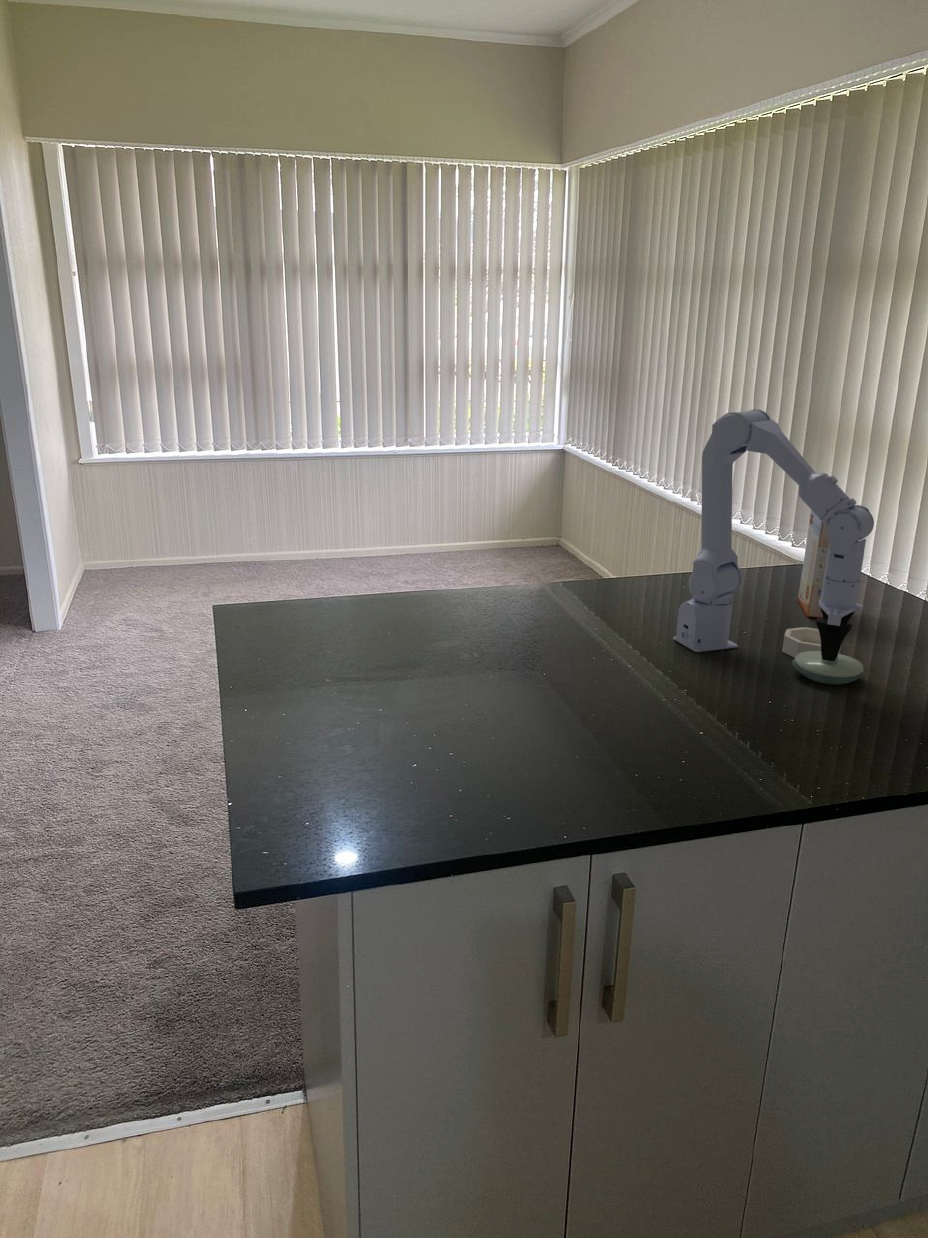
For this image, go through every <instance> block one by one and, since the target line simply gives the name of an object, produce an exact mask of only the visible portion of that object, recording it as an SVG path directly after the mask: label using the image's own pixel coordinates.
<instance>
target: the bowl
mask: <svg viewBox="0 0 928 1238" xmlns="http://www.w3.org/2000/svg"><path fill="white" fill-rule="evenodd" d="M841 649H842V646H841V647H840V650H839V654H841ZM781 651H782V653H784V654H787V655H789V656H790V657H792V658H793V659H795V657H796V655H797V654H799V653H802V652H807V651H821V639H820V633H819V630H818V628H812V627H802V626H801V627H793V628H786V630H785V632H784V636H783V642H782V650H781Z"/></svg>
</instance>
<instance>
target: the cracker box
mask: <svg viewBox="0 0 928 1238" xmlns="http://www.w3.org/2000/svg"><path fill="white" fill-rule="evenodd" d="M809 517H810V518H809V523H808V524H809V525H808V529H807V536H806V537H807V538H806V543H805V550H804V556H803V562H802V563H803V565H802V569H801V574H800V575H801V576H800V583H799V589H798V595H797V600H798V601H799V603H800V605H801V608H802V610H803V611H804V613H805V616H806V617H808V618H816V619H817V618H822V619H823V615H822V612H821V609H820V606H819V600H820V599H821V592H822V586H823V579H824V573H825V566H826V560H827V553H828V548H829V538H828V537H827V535H826V531H825V525H826V524H824V523H823V522H822V521H821V520H820V519H819V518H818V517H817V515H816V514H815V513H814V512H813V511H812V510H811V509H810V515H809Z"/></svg>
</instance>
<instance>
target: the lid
mask: <svg viewBox="0 0 928 1238" xmlns="http://www.w3.org/2000/svg"><path fill="white" fill-rule="evenodd" d="M794 659H795V664H796V665H797V666H798V667H799V668H800V669H802V670H804V671H806V672H809V673H812V674H815V675H819V676H824V677H831V678H853V677H857V676H859V675H861V674H862V672H863V670H864V664H862V662H860V661H859V660H858V659H856V658H853V657H851V656H849V655H845V654H842V653H840V654H839V653H838V655H837V658H836V660H835V661H828V660H822V656H821V651H807V652H802V653H799V654H797V655H796V657H795V658H794Z"/></svg>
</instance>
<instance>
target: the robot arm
mask: <svg viewBox="0 0 928 1238" xmlns="http://www.w3.org/2000/svg"><path fill="white" fill-rule="evenodd" d="M747 451H748V452H753V453H758V454H759V453H760V454H765V455H767V456H768V457H769V458H770V459H771V460H772V461H773V462H774V463H775V464H776V465H778V467H779V468H781V469H782V471H783V472H784V473H786V475H788V476H789V478H790V479H792V480H793V481H794V482H795V483H796V484H797V485H798V497H799V498H800V499H801V501H803V502H804V503H805V505H806V506H807V507H808V508H809V509H810V511H811V510H812V511H813V512H814V513H815V514H816V515H817V517H818V518H819V519H820V520H821V521H822V522H823V523H824V524H826V525H825V531H826V535H827V537H828V538H829V548H828V553H827V560H826V566H825V573H824V579H823V586H822V592H821V599H820V600H819V606H820V609H821V612H822V615H823V618H816V620H815V621H816V622H815V624H816V627H817V628H816V629H818V630H819V633H820V639H821V656H822V660H828V661H835V660H836V658H837V655H838V653H839V650H840V647H841V648H842V644H843V642H844V640H845V638H846V636H847V635H848V633H849V632H850V631H851V630H852V628H853V624H850V623H849V621H850V619H851V618H852V616H853V615H854V614H855V611H856V612H861V611H863V608H864V605H863V604H862V603H857V600H858V592H859V588H860V580H861V575H862V569H863V563H864V558H865V557H864V556H865V549H866V542H867V539H866V538H868V536H869V535H870V534H872V532H873V529H874V527H875V520H874V516H873V515H872V513H871V512H870V509H869V508H868V507H866V506H863V505H860V504H857V500H855V498H850V497H849V496H848V495H847V494H846V493H845V492H844V491H843V490H842V488H841V487H840V486H839V485H838V484H837V483H838V482H839V479H838V478H836V476H835V475H830V476H829V475H828V474H827V473H825V472H817V471H815V470H814V469H813V468H812V467H811V465H810V464H809V463H808V461H807V460H806V459H805V458H804V456H802V454H801V453H800V452H799V451H798V449H797V448H796V447H795V445H794V444H792V442H791V441H790V440H789V438H788V437H787V436H786V434H784V432H783V431H782V428H781V426H779V424H778V422H776V421H775V420H774V419H772V418H771V416H770V415H769V414H768V413H767V412H766V411H765V410H762V409H758V408H756V409H755V408H754V409H750V410H744V411H737V412H736V411H731V412H727V413H725V414H723V415H722V416H721V417H719V418H718V419H717V420H716V421H715V422H713V424H712V425H711V434H710V436H709V438H708V440H707V442H706V444H705V446H704V448H703V450H702V453H701V454H702V455H701V535H700V536H701V538H700V539H701V541H700V542H701V546H700V547H701V549H700V550H699V552H698V554H697V555H696V556H695V559H693V562H692V563H693V564H692V572H691V574H690V576H689V578H688V589H689V592H690V593H691V595H692V598H691V599H690V600H687V601H683V602H682V603H681V604H680V606H679V608H678V612H677V619H676V621H677V622H676V623H677V624H676V629H675V630H676V633H675V636H673V638H672V639H673V640H674V641H676V642H678V643H679V644H681V645H682V646H684V647H686V648H688V649H689V650H691V651H693V652H695V653H702V652H709V651H710V652H711V651H717V650H718V651H720V650H726V649H736V648H738V644H737V643H735V642H733V641H731V640H729V638H730V628H731V620H732V611H733V603H734V597H735V596H734V594H735V592H736V591H737V590H738V589H739V588H740V586H741V584H742V581H743V575H742V571H741V570H740V567H739V563H738V555H737V553H736V552H735V551H734V549H733V547H732V545H733V544H732V540H733V539H732V535H733V533H732V531H733V529H732V528H733V524H732V522H733V467H734V466H733V464H734V463H735V462H736V461H737V460H738V459H739V458H740V457H741V456H742V455H743V454H745V453H746V452H747ZM840 651H841V650H840Z"/></svg>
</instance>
